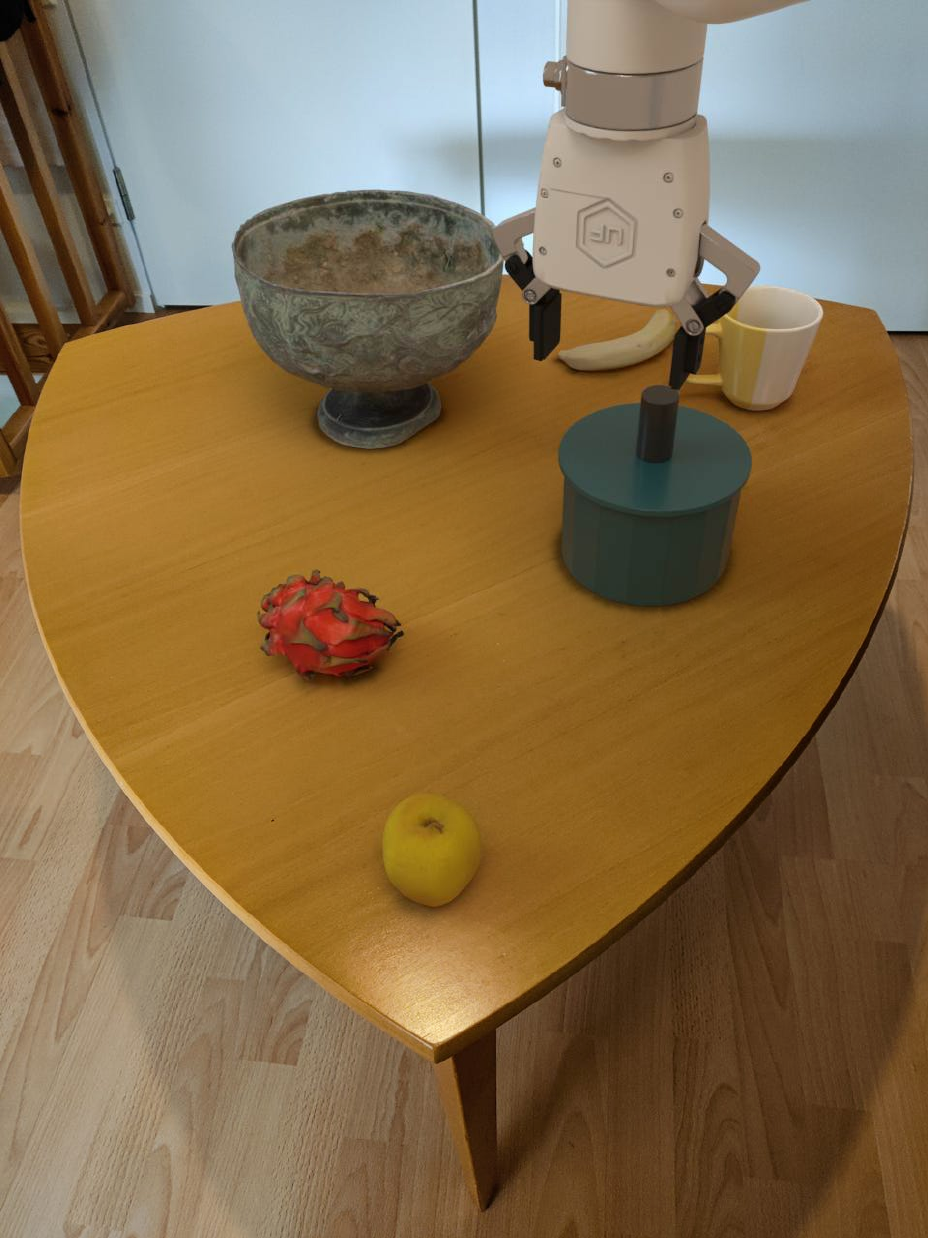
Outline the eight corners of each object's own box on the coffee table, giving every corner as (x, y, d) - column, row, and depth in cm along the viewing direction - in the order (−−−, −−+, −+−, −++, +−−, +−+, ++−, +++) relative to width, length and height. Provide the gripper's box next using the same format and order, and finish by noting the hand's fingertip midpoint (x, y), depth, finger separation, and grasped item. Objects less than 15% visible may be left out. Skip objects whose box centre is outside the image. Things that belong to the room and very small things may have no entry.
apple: (473, 934, 63) (469, 864, 58) (376, 918, 64) (362, 847, 59) (491, 849, 68) (489, 776, 62) (400, 835, 69) (390, 762, 63)
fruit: (699, 349, 116) (702, 322, 113) (591, 386, 111) (593, 359, 108) (660, 325, 120) (663, 299, 118) (556, 359, 115) (556, 333, 113)
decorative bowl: (214, 399, 111) (178, 220, 97) (403, 330, 122) (396, 161, 108) (342, 519, 96) (322, 328, 82) (544, 427, 107) (557, 246, 93)
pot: (748, 529, 91) (766, 436, 84) (691, 627, 82) (707, 532, 75) (602, 487, 97) (608, 396, 90) (534, 574, 88) (535, 481, 81)
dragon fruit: (261, 655, 84) (399, 686, 83) (228, 674, 76) (381, 709, 75) (279, 557, 83) (419, 587, 82) (247, 565, 74) (403, 599, 74)
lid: (774, 441, 85) (789, 370, 80) (711, 545, 75) (723, 472, 71) (604, 397, 91) (609, 330, 86) (525, 489, 81) (525, 418, 77)
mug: (798, 374, 111) (817, 284, 103) (808, 425, 103) (829, 331, 96) (673, 370, 112) (683, 281, 105) (674, 419, 105) (685, 327, 98)
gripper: (464, 95, 57) (474, 366, 68) (767, 130, 51) (720, 420, 62) (519, 60, 61) (519, 318, 73) (802, 87, 55) (752, 364, 67)
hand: (612, 365), depth 68 cm, fingers open, 9 cm apart
